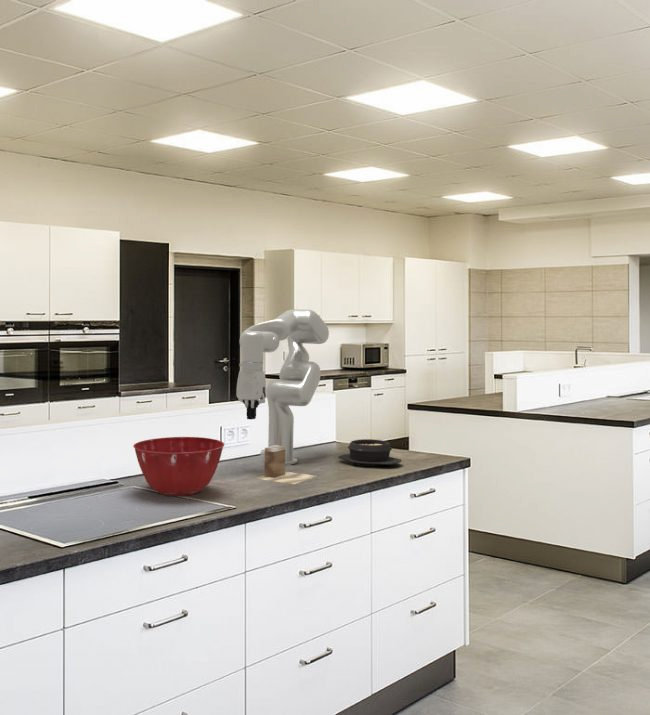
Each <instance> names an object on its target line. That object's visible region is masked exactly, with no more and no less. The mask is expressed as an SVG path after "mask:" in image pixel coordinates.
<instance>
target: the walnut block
mask: <svg viewBox="0 0 650 715" xmlns="http://www.w3.org/2000/svg"><path fill="white" fill-rule="evenodd" d="M264 450H265V455H264V459H265V462H264V467H263V468H264V474H263V476H264V477H271V478H275V477H278V476H282V475H285V472H286V464H285V446H279V445H274V446H270V447H268V446H267V447H264Z"/></svg>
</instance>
